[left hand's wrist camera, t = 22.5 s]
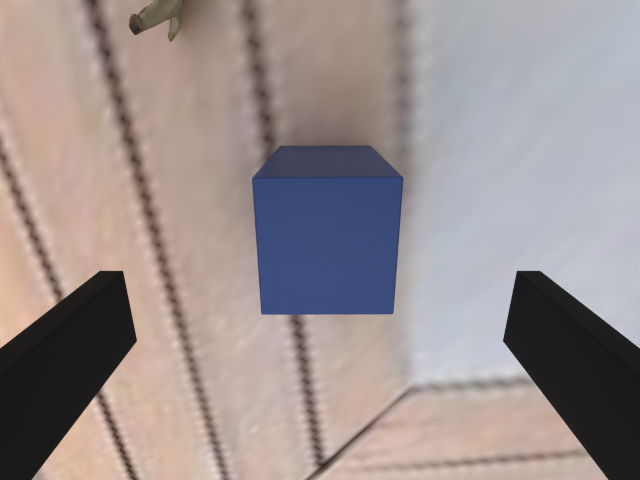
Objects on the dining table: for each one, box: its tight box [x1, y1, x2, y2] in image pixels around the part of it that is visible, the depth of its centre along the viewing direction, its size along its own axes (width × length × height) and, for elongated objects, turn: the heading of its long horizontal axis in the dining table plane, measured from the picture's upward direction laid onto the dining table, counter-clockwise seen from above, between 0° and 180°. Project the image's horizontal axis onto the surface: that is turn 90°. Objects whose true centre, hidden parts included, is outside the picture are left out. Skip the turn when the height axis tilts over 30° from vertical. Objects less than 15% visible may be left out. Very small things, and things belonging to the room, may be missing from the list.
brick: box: [252, 146, 403, 314], centre depth 24 cm, size 7×7×12 cm
